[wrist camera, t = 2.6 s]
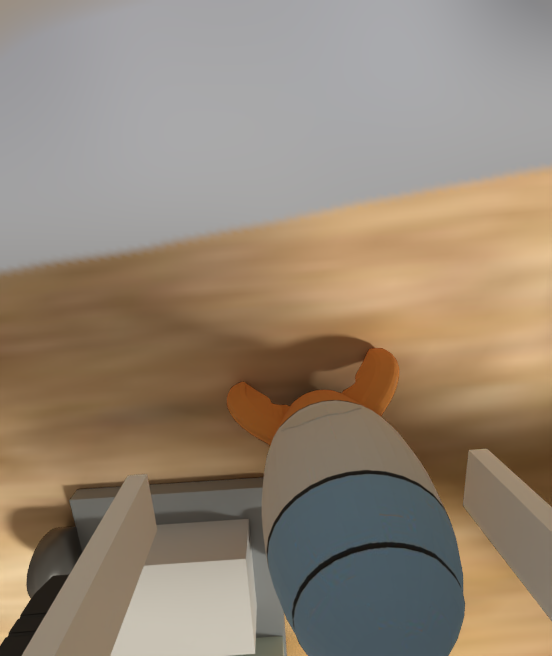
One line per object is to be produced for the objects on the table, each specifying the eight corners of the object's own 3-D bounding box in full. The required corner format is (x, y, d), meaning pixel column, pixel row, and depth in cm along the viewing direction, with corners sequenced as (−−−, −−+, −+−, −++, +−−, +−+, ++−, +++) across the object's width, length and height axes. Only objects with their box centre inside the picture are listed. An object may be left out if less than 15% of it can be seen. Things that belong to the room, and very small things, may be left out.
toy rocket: (359, 471, 24) (383, 816, 10) (227, 420, 25) (84, 676, 11) (421, 354, 20) (594, 647, 7) (265, 298, 21) (120, 453, 7)
